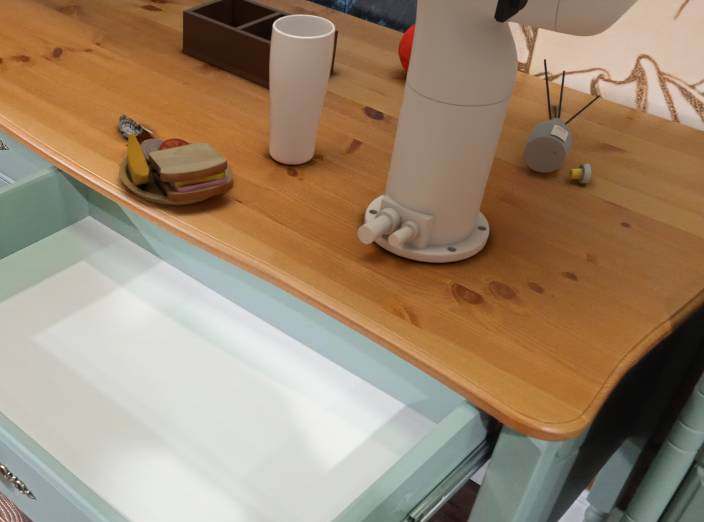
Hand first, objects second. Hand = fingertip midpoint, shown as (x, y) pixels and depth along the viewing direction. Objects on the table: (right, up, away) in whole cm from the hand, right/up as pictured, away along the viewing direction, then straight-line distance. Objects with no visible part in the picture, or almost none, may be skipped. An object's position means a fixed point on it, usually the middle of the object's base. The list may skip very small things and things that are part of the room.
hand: (449, 1), depth 67 cm
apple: (+12, +12, +49) cm, 52 cm away
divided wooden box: (-11, +15, +52) cm, 56 cm away
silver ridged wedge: (-28, +1, +35) cm, 45 cm away
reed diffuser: (+24, -1, +36) cm, 43 cm away
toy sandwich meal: (-21, -7, +28) cm, 36 cm away
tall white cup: (-8, -3, +33) cm, 34 cm away
